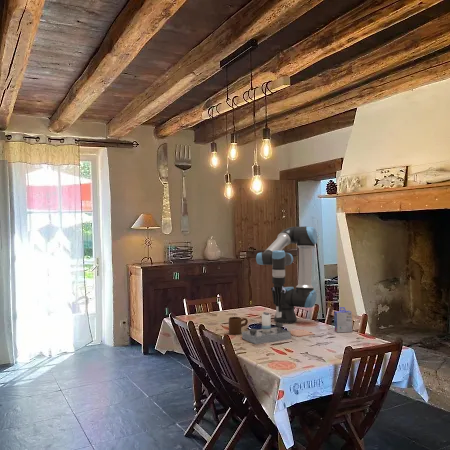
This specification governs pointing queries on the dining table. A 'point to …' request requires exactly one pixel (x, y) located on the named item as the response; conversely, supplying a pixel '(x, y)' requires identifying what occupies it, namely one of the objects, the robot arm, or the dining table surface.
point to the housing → (266, 336)
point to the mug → (236, 325)
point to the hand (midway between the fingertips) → (278, 317)
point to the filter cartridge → (266, 323)
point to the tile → (300, 333)
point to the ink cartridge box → (343, 320)
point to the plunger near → (253, 331)
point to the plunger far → (279, 326)
